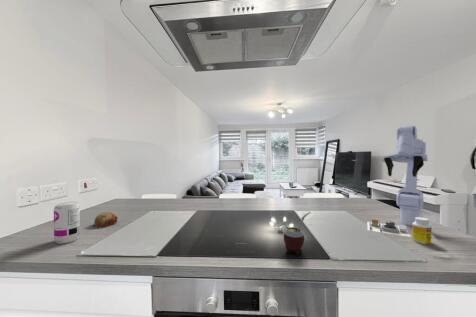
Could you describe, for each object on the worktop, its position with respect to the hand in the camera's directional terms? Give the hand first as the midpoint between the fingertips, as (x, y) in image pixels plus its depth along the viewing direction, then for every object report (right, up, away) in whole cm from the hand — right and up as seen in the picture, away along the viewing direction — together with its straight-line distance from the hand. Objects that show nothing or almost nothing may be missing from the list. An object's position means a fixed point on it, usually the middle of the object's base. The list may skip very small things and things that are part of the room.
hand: (401, 175), depth 83 cm
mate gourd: (-44, -27, -8) cm, 52 cm away
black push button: (+3, -24, +10) cm, 26 cm away
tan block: (0, -25, +16) cm, 30 cm away
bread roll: (-131, -27, +24) cm, 136 cm away
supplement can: (-134, -27, +3) cm, 137 cm away
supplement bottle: (+6, -27, -2) cm, 28 cm away
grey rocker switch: (+7, -24, +8) cm, 26 cm away
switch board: (+3, -27, +12) cm, 29 cm away
